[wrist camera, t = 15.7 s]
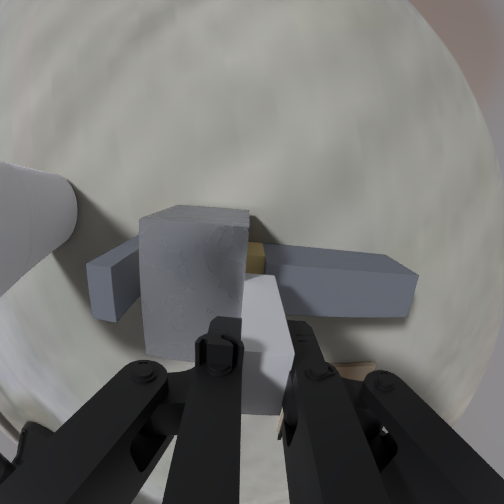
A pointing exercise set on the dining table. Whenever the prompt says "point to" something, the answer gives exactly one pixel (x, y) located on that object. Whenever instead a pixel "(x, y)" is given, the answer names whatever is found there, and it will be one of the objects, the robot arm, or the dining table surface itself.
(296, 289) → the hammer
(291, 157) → the dining table surface
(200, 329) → the grey block
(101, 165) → the dining table surface
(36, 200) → the cup
